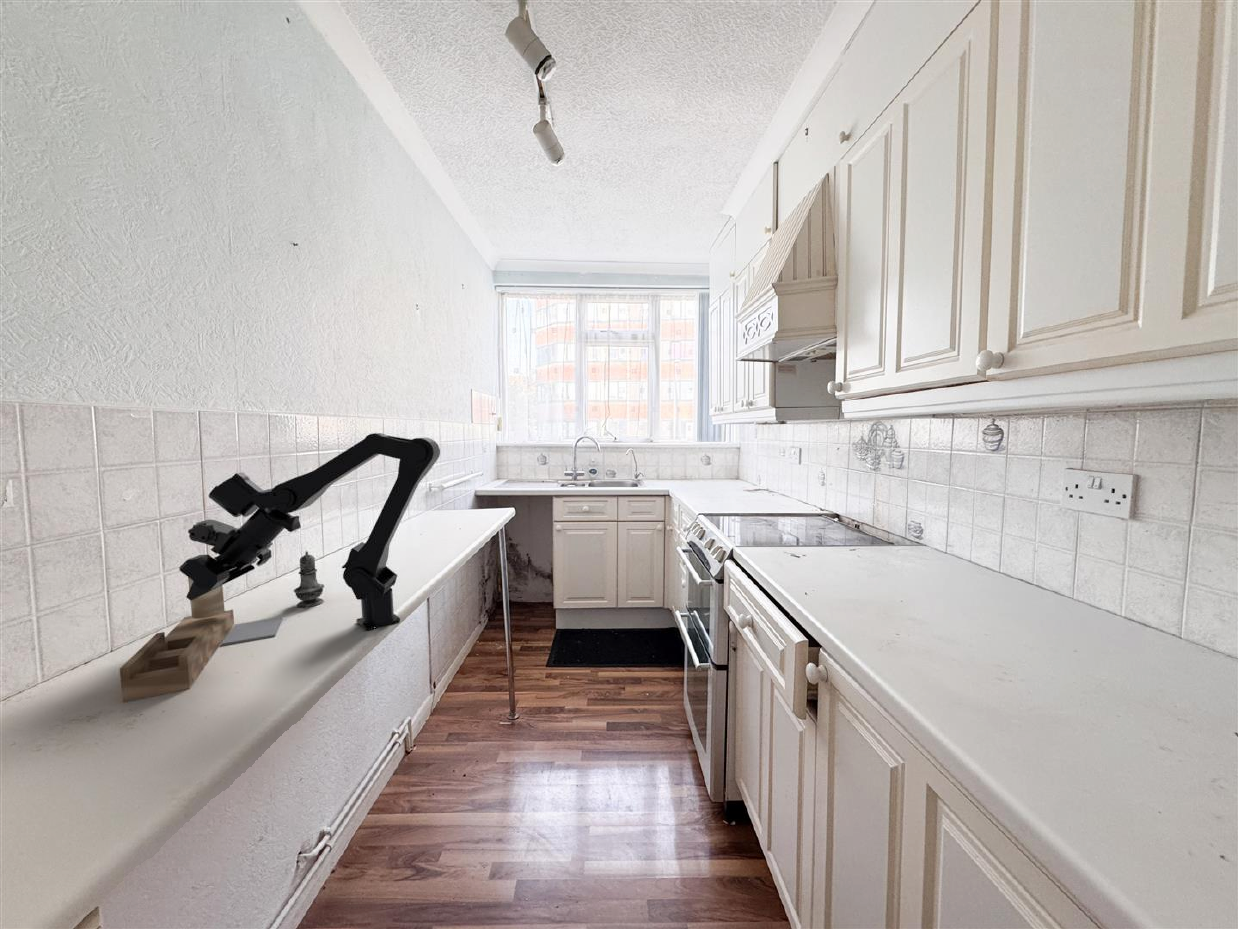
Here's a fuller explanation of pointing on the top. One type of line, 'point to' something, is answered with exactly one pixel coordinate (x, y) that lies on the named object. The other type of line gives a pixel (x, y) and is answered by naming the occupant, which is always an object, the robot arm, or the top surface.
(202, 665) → the wooden track
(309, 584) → the salt shaker
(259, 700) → the top surface
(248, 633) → the mat
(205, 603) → the birch cylinder
